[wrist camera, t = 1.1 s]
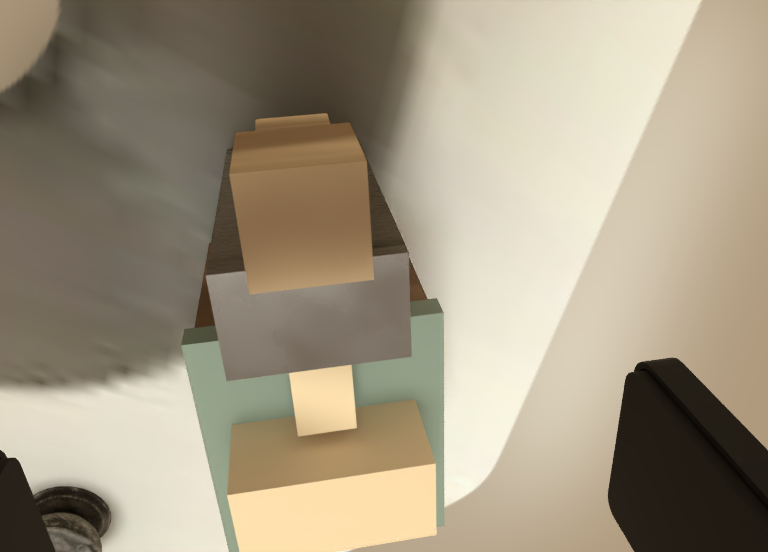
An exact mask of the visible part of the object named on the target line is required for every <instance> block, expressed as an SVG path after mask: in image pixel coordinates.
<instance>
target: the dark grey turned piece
mask: <svg viewBox="0 0 768 552" xmlns="http://www.w3.org/2000/svg"><path fill="white" fill-rule="evenodd" d="M33 497H34V499H35V501H36V504H37V506H38V509H39V511H40V514H41V516H42V519H43V521H44V524H45V526H46V529H47V531H48V533H49V536H50V538H51V541H52V543H53V546H54V548H55V551H56V552H102V545H101V541H100V537H102V536H103V535H104V534H105V532H106V531H107V530H108V528H109V525H110V522H111V512H110V510H109V508H108V505H107V504H106V503H105V502H104V501H103V500H102V499H101V498H100V497H98V496H97V495H95V494H94V493H92V492H89V491H87V490H84V489H81V488H75V487H55V488H50V489H46V490H44V491H41V492H39V493H37V494H36V495H34V496H33Z"/></svg>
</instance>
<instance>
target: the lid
mask: <svg viewBox="0 0 768 552" xmlns="http://www.w3.org/2000/svg"><path fill="white" fill-rule="evenodd" d="M410 313H411V345H412V357H407V358H399V359H391V360H384V361H376V362H369V363H361V364H354V365H352V377H353V388H354V400H355V412H356V424H357V428H354V429H347V430H340V431H333V432H326V433H319V434H312V435H305V436H298V433H297V426H296V419H295V412H294V405H293V398H292V391H291V384H290V376H289V373H286V374H278V375H271V376H263V377H256V378H248V379H240V380H233V381H226V376H225V371H224V366H223V361H222V356H221V351H220V346H219V341H218V336H217V331H216V326H207V327H199V328H191V329H185V330H184V335H183V340H182V345H181V346H182V351H183V355H184V359H185V364H186V368H187V372H188V376H189V381H190V385H191V389H192V394H193V398H194V402H195V407H196V411H197V415H198V420H199V424H200V428H201V433H202V437H203V441H204V445H205V450H206V454H207V458H208V463H209V467H210V471H211V476H212V480H213V484H214V489H215V493H216V497H217V502H218V506H219V510H220V514H221V519H222V523H223V527H224V532H225V536H226V540H227V545H228V549H229V552H336V551H342V550H348V549H354V548H360V547H365V546H372V545H377V544H384V543H389V542H396V541H402V540H408V539H413V538H420V537H426V536H432V535H436V527H439V526H444V322H443V311H442V308H441V306H440V304H439V302H438V300H437V298H436V299H428V300H420V301H412V302H410Z"/></svg>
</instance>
